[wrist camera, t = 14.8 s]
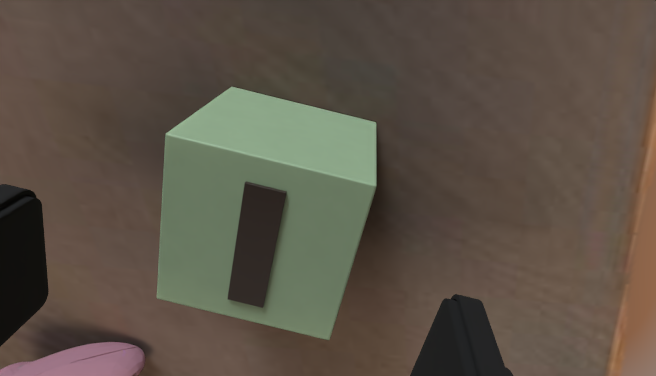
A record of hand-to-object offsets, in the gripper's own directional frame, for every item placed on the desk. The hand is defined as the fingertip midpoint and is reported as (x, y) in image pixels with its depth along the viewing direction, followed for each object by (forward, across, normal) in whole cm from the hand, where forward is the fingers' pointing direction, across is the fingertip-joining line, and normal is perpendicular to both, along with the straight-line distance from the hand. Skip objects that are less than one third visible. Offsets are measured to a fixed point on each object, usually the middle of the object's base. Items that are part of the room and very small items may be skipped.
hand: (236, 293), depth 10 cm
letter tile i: (+6, 0, 0) cm, 6 cm away
